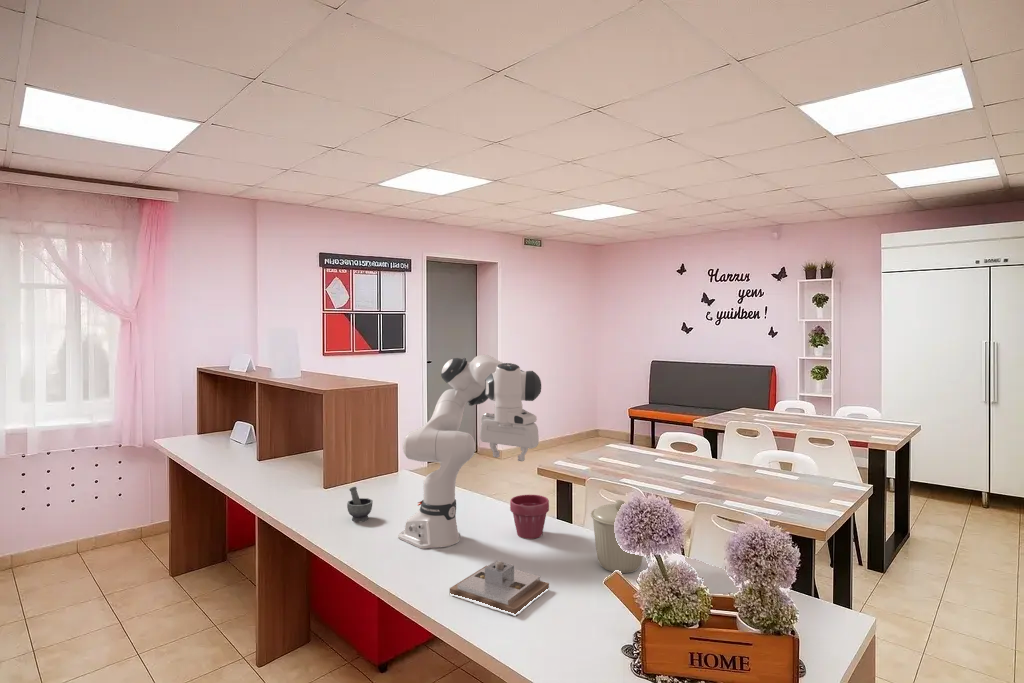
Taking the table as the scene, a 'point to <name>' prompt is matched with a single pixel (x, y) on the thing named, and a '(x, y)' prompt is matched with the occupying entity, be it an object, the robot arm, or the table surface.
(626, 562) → the canister
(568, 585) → the table surface
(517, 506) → the plant pot
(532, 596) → the post base
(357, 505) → the mortar and pestle
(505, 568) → the flange plate
